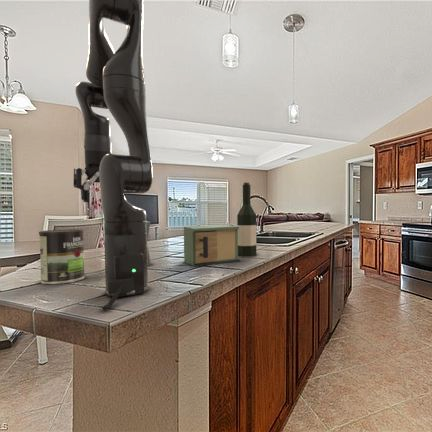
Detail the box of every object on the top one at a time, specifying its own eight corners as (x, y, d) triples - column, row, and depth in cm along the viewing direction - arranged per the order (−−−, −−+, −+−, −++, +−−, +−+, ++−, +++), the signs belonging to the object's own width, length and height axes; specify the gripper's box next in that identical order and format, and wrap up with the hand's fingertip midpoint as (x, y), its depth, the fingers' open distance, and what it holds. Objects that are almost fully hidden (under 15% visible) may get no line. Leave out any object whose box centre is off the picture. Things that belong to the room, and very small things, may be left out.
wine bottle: (234, 254, 136) (233, 183, 135) (252, 252, 140) (252, 183, 139) (241, 256, 129) (240, 181, 127) (260, 255, 133) (259, 182, 131)
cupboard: (239, 261, 119) (239, 226, 118) (194, 266, 109) (193, 228, 109) (227, 257, 128) (226, 224, 128) (184, 261, 118) (183, 226, 118)
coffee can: (93, 276, 95) (92, 229, 95) (62, 285, 85) (60, 232, 84) (64, 275, 97) (62, 228, 97) (30, 283, 87) (28, 231, 87)
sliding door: (223, 263, 110) (223, 232, 109) (201, 266, 105) (200, 233, 105) (216, 260, 115) (216, 231, 114) (195, 263, 110) (194, 232, 110)
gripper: (79, 148, 93) (81, 203, 95) (127, 151, 105) (128, 201, 107) (67, 148, 97) (70, 201, 99) (115, 151, 109) (116, 199, 111)
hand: (100, 201), depth 103 cm, fingers open, 8 cm apart
